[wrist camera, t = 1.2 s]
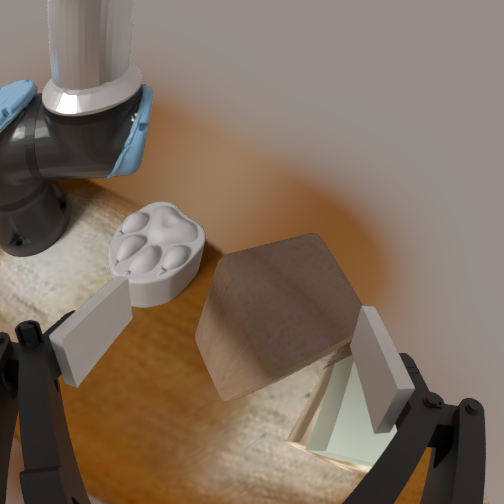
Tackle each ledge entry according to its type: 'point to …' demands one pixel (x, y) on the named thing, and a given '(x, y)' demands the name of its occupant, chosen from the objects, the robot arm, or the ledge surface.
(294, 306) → the block
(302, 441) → the tower bottom
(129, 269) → the lumpy-topped squat cylinder
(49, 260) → the ledge surface
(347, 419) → the tower top
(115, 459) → the ledge surface
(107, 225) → the ledge surface
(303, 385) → the ledge surface
